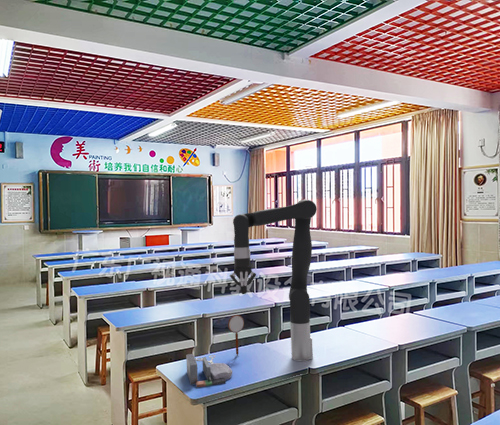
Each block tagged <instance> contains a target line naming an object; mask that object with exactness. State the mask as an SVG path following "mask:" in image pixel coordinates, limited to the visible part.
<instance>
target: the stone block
mask: <svg viewBox="0 0 500 425" xmlns="http://www.w3.org/2000/svg"><path fill="white" fill-rule="evenodd" d="M209 365H210V369H211V380H214V379H221V378H224V379H225V381H226V380H230V378H231V377H232V376H233V370H232V368H231V367H230V366H229V365H228V364H226V363H224V362H213V364H210V363H209Z"/></svg>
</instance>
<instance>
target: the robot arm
mask: <svg viewBox="0 0 500 425" xmlns="http://www.w3.org/2000/svg"><path fill="white" fill-rule="evenodd" d="M317 209H318V208H317V205H316V203H315V202H314V201H312V200H310V199H301V200H299V201H297V203H294V204H290V205H288V206H287V205H285V206H282V207H272V208H267V209H261V210H257V211H253V212H249V213H241V214H237V215H236V216H234V218H233V220H232V224H233V229H234V230H233V233H234V237H233V242H234V243H233V244H234V245H233V246H234V247H233V248H234V250H233V260H234V262H233V263H234V270H233V272H232V273H231V274H229V278H231V279H232V281H233V282H234V283H235V284H236V285H237V286H239V289H240V290H239V292H240V293H241V294H242V295H246V294H247V293H248V286H249V285H251V284H252V282H253V281H254V279H255V278H256V276H257V273H256V272H254V271H253V270H252V268H251V267H252V266H251V265H252V264H251V250H250V249H251V248H250V239H249V233H250V232H249V231H250V230H249V229H250V228H253V227H260V226H266V225H271V224H275V223H278V222H279V223H280V222H282V221H287V220H294V234H293V239H292V240H293V242H292V252H291V281H290V287H289V293H288V300H289V314H290V315H289V320H290V323H289V324H290V346H291V359H292V360H293V361H298V362H305V361H309V360H312V359H314V356H313V352H314V350H313V338H312V336H311V319H310V318H311V302H310V295H309V293H308V286H307V285H308V274H309V270H310V267H311V263H312V262H311V261H312V252H313V249H312V248H313V245H312V238H311V236H312V235H311V222H312V221H311V220H312V218H313V217H314V216H315V215H316V213H317ZM236 277H237V278H238V280H237V279H236Z"/></svg>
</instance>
